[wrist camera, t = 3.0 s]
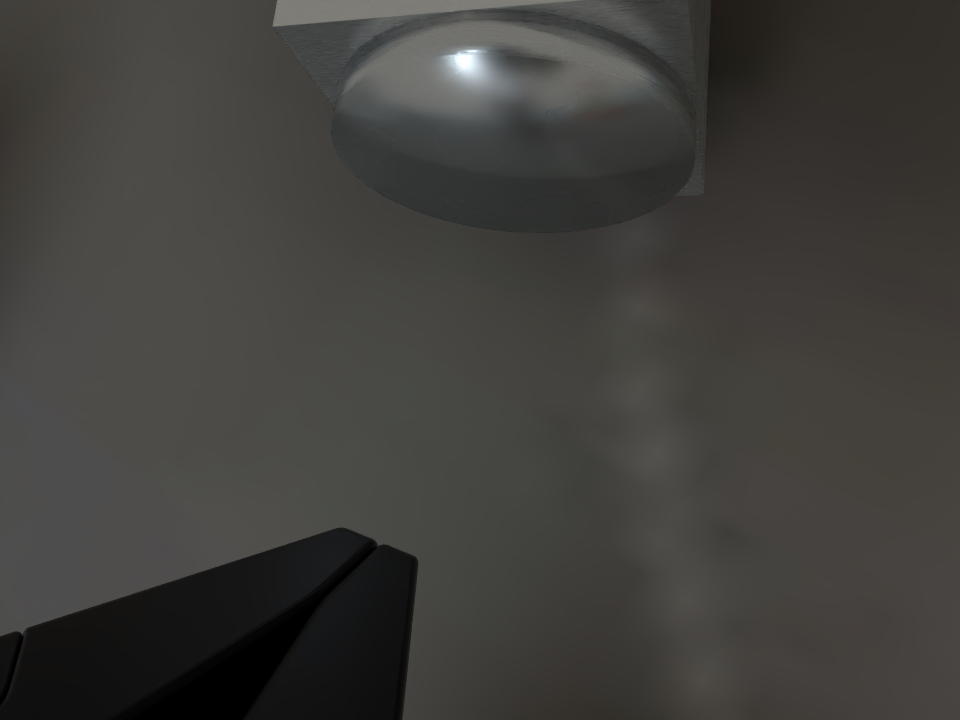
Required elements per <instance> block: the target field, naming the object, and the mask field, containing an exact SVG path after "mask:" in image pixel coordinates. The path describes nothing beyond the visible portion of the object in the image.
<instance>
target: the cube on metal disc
mask: <svg viewBox="0 0 960 720" xmlns="http://www.w3.org/2000/svg"><path fill="white" fill-rule="evenodd" d="M710 19H711V0H277V6H276V11H275V17H274V22H273V28H274V29H275V30H276V32H277V33H278V34H279V36H280V37H281V38H282V39H283V41H284V42H285V43H286V45H287V46H288V47H289V49H290V50H291V51H292V52H293V54H294V55H295V56H296V58H297V59H298V60H299V62H300V63H301V64H302V65H303V67H304V68H305V69H306V71H307V72H308V73H309V75H310V76H311V77H312V78H313V80H314V81H315V82H316V84H317V85H318V86H319V88H320V89H321V90H322V91H323V93H324V94H325V95H326V97H327V98H328V99H329V101H330V102H331V103H332V104H333V106H334V113H333V119H332V130H331V134H332V139H333V145H334V147H335V149H336V151H337V153H338V156H339V157H340V158H341V160H342V161H343V163H344V164H345V166H346V167H347V168H348V169H349V170H350V171H351V172H352V173H353V174H354V175H355V176H356V177H357V178H358V179H360V180H361V181H362V182H363V183H365V184H366V185H367V186H369V187H370V188H372V189H373V190H375V191H376V192H378V193H380V194H381V195H383V196H385V197H387V198H389V199H390V200H392V201H394V202H396V203H398V204H401V205H403V206H405V207H408V208H410V209H412V210H415V211H418V212H421V213H423V214H426V215H429V216H432V217H436V218H439V219H443V220H446V221H450V222H454V223H459V224H463V225H467V226H473V227H479V228H485V229H492V230H501V231H512V232H531V233H550V232H569V231H579V230H587V229H593V228H599V227H605V226H609V225H613V224H617V223H621V222H624V221H627V220H631V219H634V218H637V217H639V216H641V215H644V214H646V213H649V212H651V211H653V210H654V209H656V208H658V207H660V206H662V205H663V204H665V203H666V202H668V201H669V200H670V199H672V198H673V197H674V196H686V195H704V172H705V146H706V121H707V96H708V70H709V45H710Z"/></svg>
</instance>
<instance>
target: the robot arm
mask: <svg viewBox="0 0 960 720" xmlns="http://www.w3.org/2000/svg"><path fill="white" fill-rule="evenodd" d="M417 572H418V560H417V558H416V557H415V556H413V555H411V554H408V553H406V552H403V551H401V550H398V549H396V548H393V547H391V546H389V545H384V544H383V545H379V546H378V544H377V542H376V541H375V540H374V539H371V538H369V537H366V536H364V535H361V534H359V533H357V532H354V531H352V530H349V529H346V528H336V529H333V530H330V531H327V532H324V533H320V534H317V535H314V536H311V537H308V538H305V539H302V540H299V541H296V542H293V543H289V544H286V545H283V546H280V547H277V548H274V549H271V550H268V551H265V552H262V553H258V554H255V555H252V556H249V557H246V558H243V559H240V560H237V561H234V562H230V563H227V564H224V565H221V566H218V567H215V568H212V569H209V570H206V571H203V572H199V573H196V574H193V575H190V576H187V577H184V578H181V579H178V580H175V581H172V582H168V583H165V584H162V585H159V586H156V587H153V588H150V589H147V590H144V591H140V592H137V593H134V594H131V595H128V596H125V597H122V598H119V599H116V600H113V601H109V602H106V603H103V604H100V605H97V606H94V607H91V608H88V609H85V610H82V611H78V612H75V613H72V614H69V615H66V616H63V617H60V618H57V619H54V620H50V621H47V622H44V623H41V624H38V625H35V626H32V627H29V628H27V629H26V630H25V631H24V633H23V636H22V634H21V633H20V632H17V631H16V632H12V633H9V634H6V635H3V636H0V720H402V719H403V709H404V699H405V690H406V680H407V670H408V660H409V651H410V641H411V631H412V621H413V611H414V602H415V592H416V582H417Z"/></svg>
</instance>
